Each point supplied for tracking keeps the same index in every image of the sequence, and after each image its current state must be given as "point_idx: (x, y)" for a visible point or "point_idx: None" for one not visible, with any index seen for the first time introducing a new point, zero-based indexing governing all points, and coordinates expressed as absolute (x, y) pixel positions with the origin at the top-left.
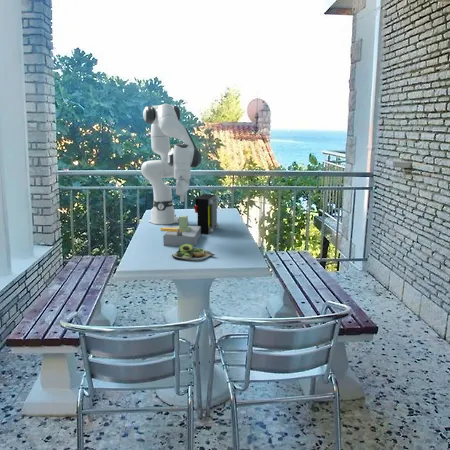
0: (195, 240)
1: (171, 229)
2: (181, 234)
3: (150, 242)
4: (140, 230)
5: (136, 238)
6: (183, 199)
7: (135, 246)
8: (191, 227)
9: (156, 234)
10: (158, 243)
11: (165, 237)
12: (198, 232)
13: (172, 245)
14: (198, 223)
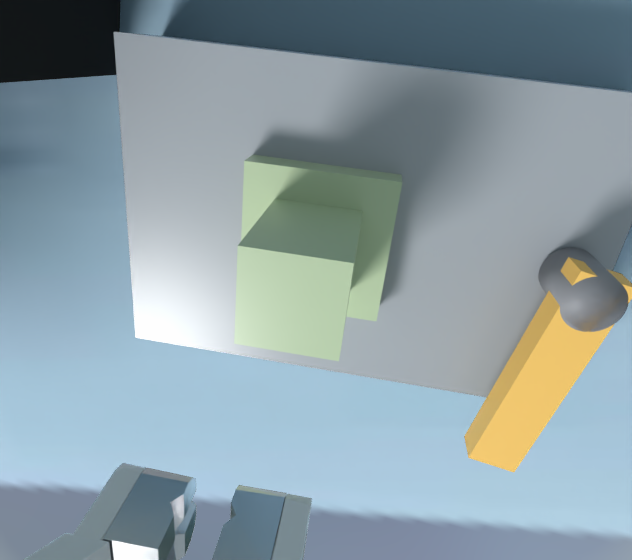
0: (578, 85)
1: (571, 380)
2: (593, 257)
3: (419, 436)
4: (88, 488)
5: None
6: (303, 554)
7: (516, 512)
8: (190, 151)
9: (183, 404)
10: None
11: None
12: (334, 57)
13: None
14: (47, 67)
